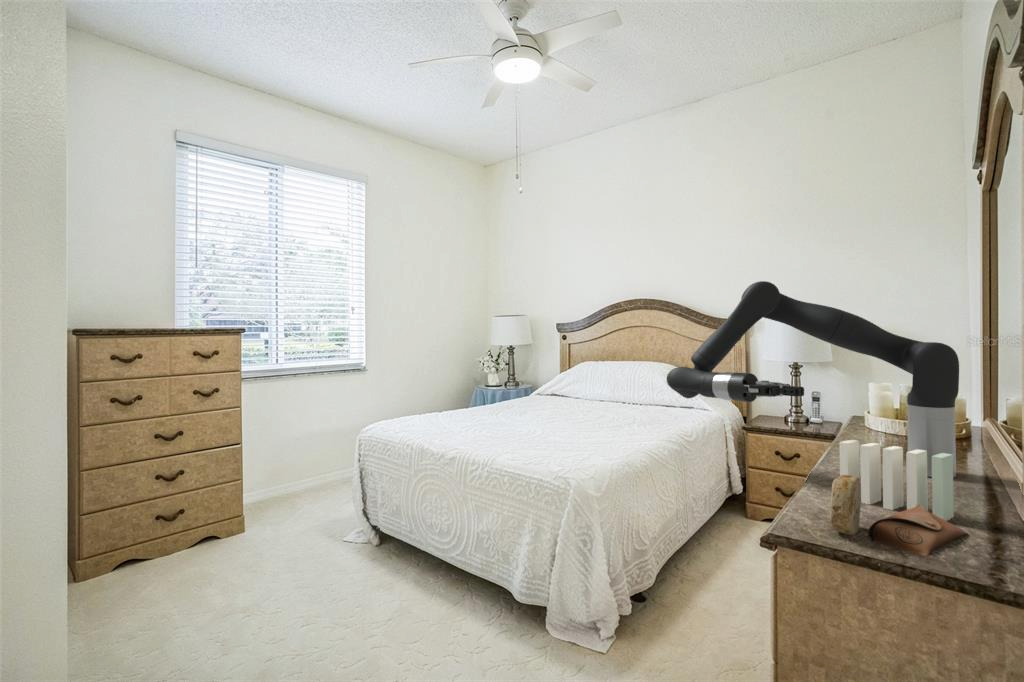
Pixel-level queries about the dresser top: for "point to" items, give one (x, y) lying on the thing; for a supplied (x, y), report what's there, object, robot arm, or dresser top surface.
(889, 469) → the domino
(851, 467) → the domino
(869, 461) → the domino
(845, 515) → the stone disc
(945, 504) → the domino
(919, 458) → the domino
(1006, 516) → the dresser top surface
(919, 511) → the sunglasses case
